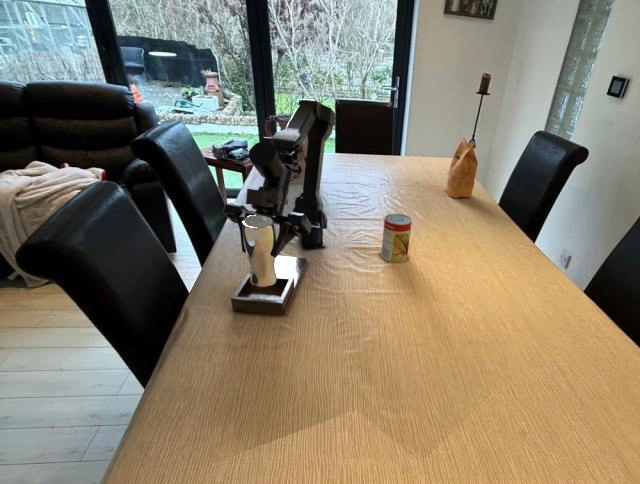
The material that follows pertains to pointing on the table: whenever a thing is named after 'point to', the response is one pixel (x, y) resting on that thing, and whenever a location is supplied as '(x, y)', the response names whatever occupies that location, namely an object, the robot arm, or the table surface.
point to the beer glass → (260, 249)
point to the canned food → (396, 237)
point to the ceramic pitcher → (300, 169)
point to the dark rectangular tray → (271, 289)
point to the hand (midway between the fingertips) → (258, 254)
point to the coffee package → (462, 171)
